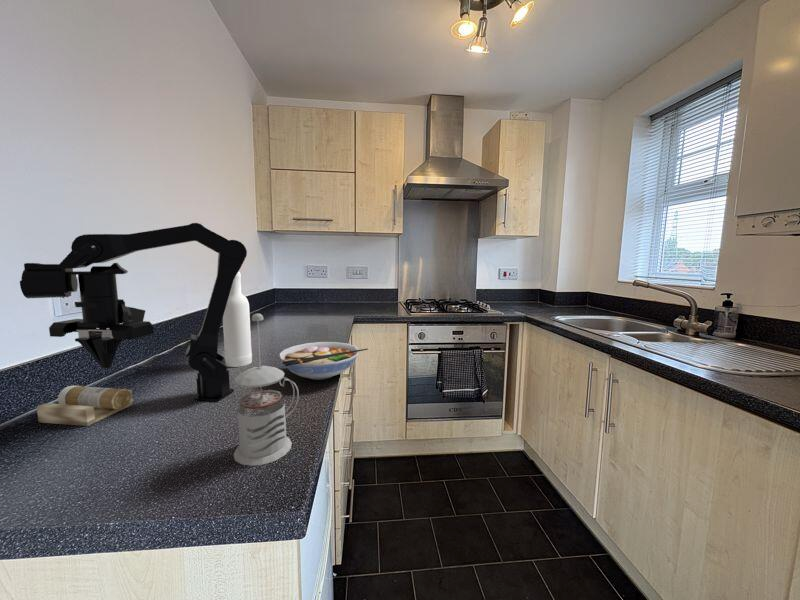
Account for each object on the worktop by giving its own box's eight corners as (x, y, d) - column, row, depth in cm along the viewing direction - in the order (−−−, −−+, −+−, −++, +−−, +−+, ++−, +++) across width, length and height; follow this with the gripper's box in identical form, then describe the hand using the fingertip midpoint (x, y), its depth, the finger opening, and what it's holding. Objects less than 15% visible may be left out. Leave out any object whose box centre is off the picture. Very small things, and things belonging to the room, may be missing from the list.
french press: (225, 448, 59) (217, 313, 56) (286, 425, 67) (282, 306, 64) (245, 473, 52) (236, 321, 49) (310, 445, 60) (307, 312, 57)
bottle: (251, 365, 103) (246, 272, 99) (223, 368, 100) (217, 272, 96) (252, 358, 111) (248, 271, 107) (226, 361, 108) (221, 271, 104)
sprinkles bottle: (135, 399, 74) (82, 396, 76) (127, 384, 72) (73, 381, 74) (117, 414, 70) (62, 410, 72) (108, 399, 68) (52, 395, 70)
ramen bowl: (341, 358, 112) (341, 335, 111) (377, 378, 94) (377, 351, 93) (266, 372, 97) (265, 346, 96) (290, 399, 79) (289, 367, 78)
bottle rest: (133, 404, 76) (131, 390, 75) (87, 426, 66) (85, 409, 65) (89, 401, 77) (88, 387, 76) (38, 422, 67) (36, 406, 67)
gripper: (171, 293, 74) (176, 358, 76) (99, 291, 76) (105, 355, 78) (125, 298, 63) (133, 375, 65) (42, 296, 65) (51, 370, 67)
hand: (106, 368), depth 69 cm, fingers closed
